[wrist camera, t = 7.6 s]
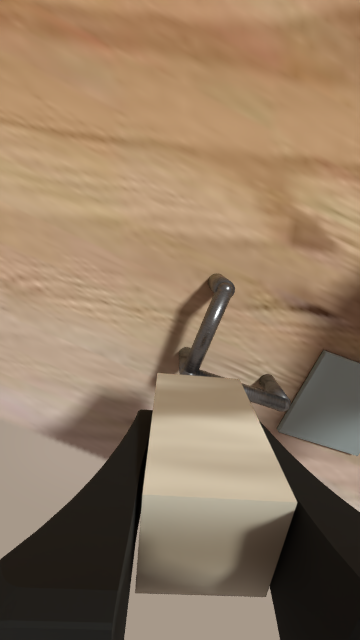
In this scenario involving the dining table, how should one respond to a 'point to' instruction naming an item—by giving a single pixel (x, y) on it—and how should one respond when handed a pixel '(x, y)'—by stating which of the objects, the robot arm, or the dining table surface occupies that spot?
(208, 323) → the bent rod
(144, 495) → the ash block
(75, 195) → the dining table surface
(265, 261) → the dining table surface
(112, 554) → the robot arm
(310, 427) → the mat
